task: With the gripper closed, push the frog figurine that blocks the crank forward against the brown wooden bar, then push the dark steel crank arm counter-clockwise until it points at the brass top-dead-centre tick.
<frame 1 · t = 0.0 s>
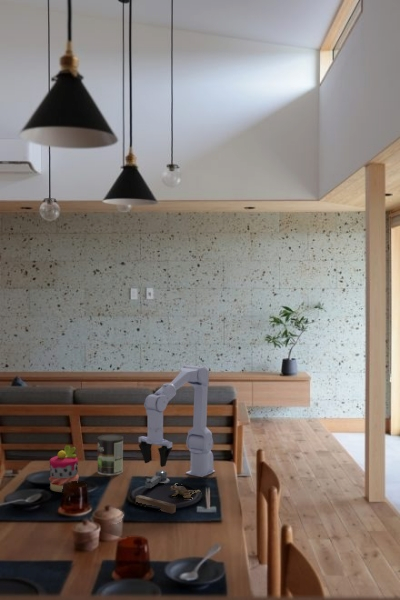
hand: (155, 464, 242), 10 cm above the table, tool pointing down, fingers open, 7 cm apart
frog figurine: (184, 497, 239), on the table
cake: (63, 488, 246), on the table
crank base plate: (161, 481, 255), on the table
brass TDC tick: (178, 485, 250), on the table
coffee can: (110, 472, 267), on the table
crank: (155, 477, 250), point 3 cm above the table, hinge at 15.0°
brown wooden bar: (155, 507, 226), on the table
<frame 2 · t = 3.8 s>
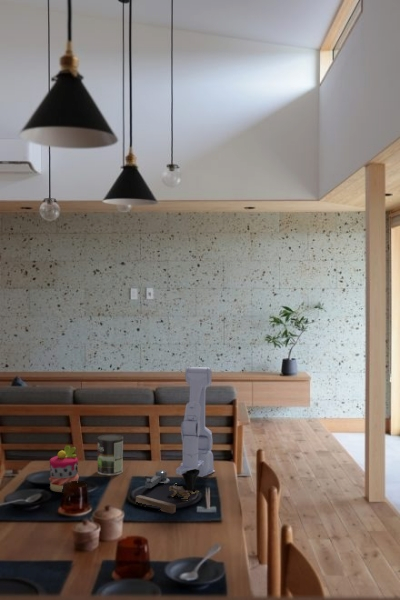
hand: (190, 489, 242), 1 cm above the table, tool pointing down, fingers closed
frog figurine: (182, 497, 238), on the table, touching gripper
everything else where it was.
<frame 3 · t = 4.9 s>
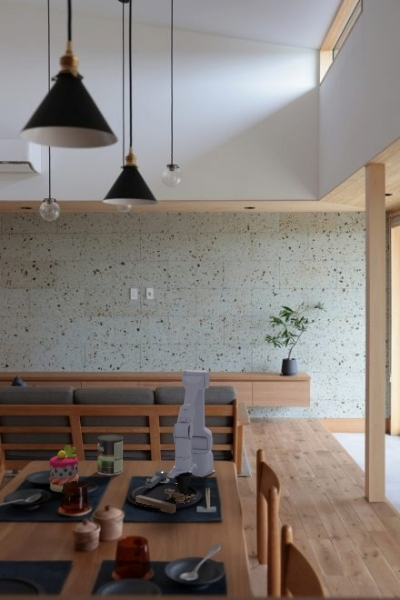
hand: (182, 493, 238), 1 cm above the table, tool pointing down, fingers closed
frog figurine: (178, 501, 234), on the table
everything else where it was.
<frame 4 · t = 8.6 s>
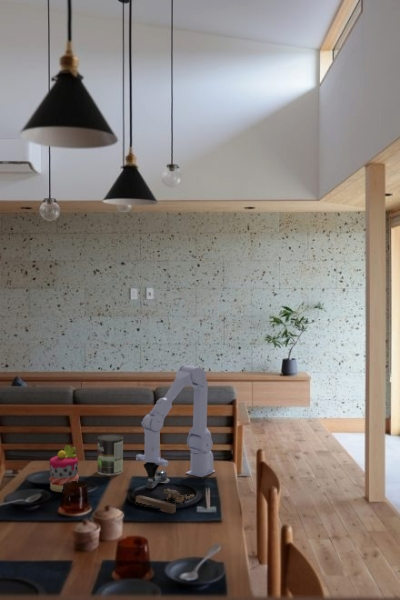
hand: (151, 481, 251), 1 cm above the table, tool pointing down, fingers closed, pressing on crank
crank: (156, 477, 250), point 3 cm above the table, hinge at 18.3°, touching gripper
everything else where it was.
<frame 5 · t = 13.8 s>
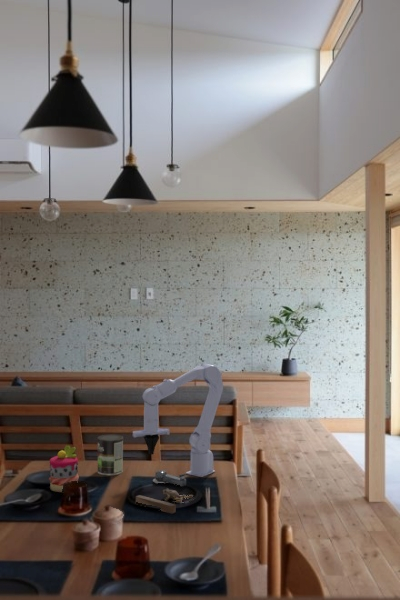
hand: (151, 453, 259), 9 cm above the table, tool pointing down, fingers closed
crank: (170, 476, 252), point 3 cm above the table, hinge at 85.2°
everything else where it was.
at the end: crank at +85° (first picture: +15°); frog figurine inside the target area (3.2 cm from its centre), on the table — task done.
